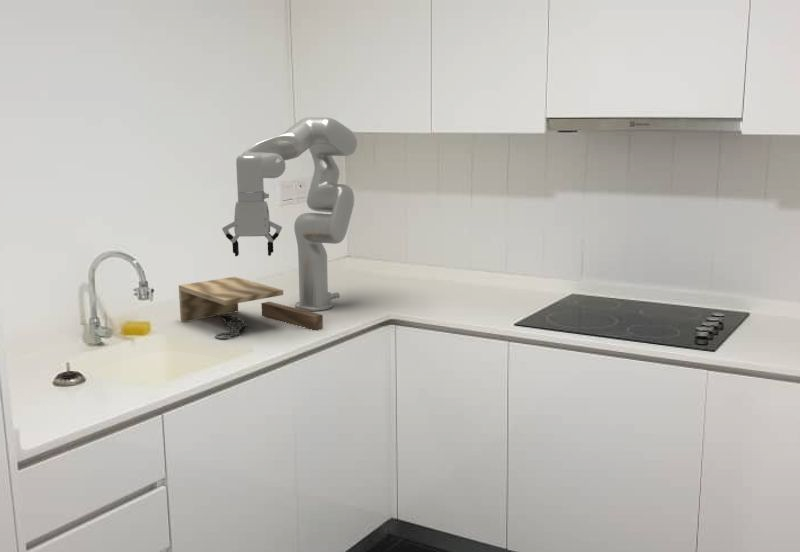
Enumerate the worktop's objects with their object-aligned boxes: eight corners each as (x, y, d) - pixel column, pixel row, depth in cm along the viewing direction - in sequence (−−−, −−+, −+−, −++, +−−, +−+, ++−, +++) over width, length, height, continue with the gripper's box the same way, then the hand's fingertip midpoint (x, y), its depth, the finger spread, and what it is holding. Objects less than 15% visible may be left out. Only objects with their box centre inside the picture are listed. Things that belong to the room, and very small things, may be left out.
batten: (269, 315, 268) (269, 301, 267) (322, 329, 250) (322, 314, 249) (261, 317, 266) (261, 303, 265) (314, 331, 248) (314, 316, 247)
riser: (236, 310, 273) (234, 276, 270) (284, 327, 252) (283, 290, 250) (180, 321, 260) (178, 285, 257) (226, 339, 239) (224, 300, 237)
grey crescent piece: (215, 314, 265) (247, 310, 266) (216, 318, 265) (247, 315, 267) (210, 338, 238) (245, 334, 239) (210, 343, 238) (245, 340, 239)
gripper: (281, 195, 245) (283, 252, 249) (222, 196, 244) (225, 253, 248) (279, 198, 238) (281, 257, 242) (219, 199, 237) (221, 258, 241)
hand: (253, 255), depth 245 cm, fingers open, 9 cm apart
